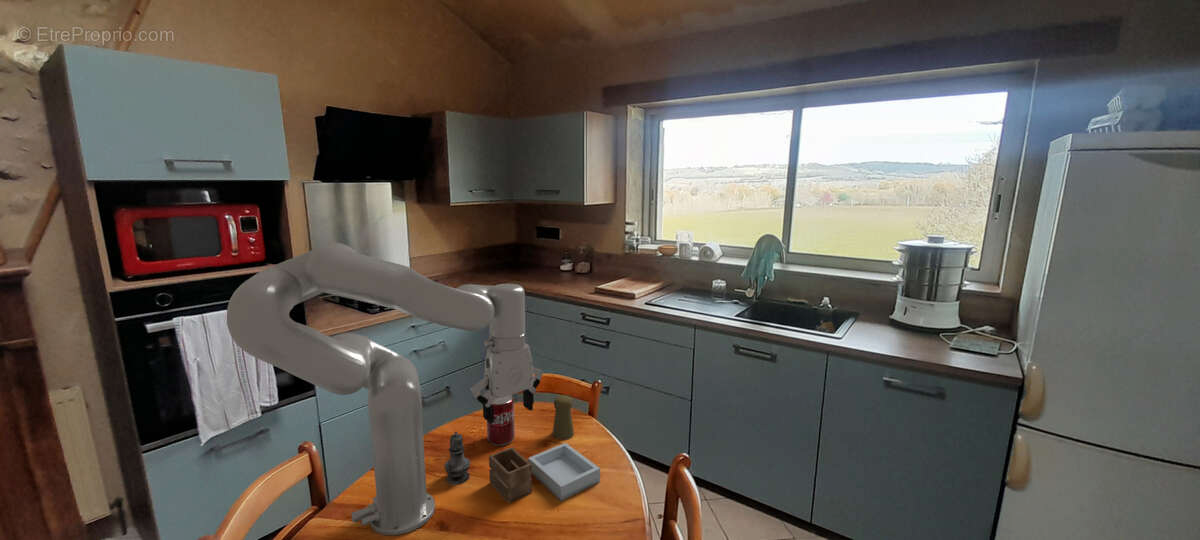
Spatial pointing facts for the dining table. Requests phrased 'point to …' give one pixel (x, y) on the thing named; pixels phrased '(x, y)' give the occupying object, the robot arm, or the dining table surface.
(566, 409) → the cork
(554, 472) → the grey crate
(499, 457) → the walnut crate
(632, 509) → the dining table surface
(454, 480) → the dark grey chess piece
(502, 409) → the soda can
